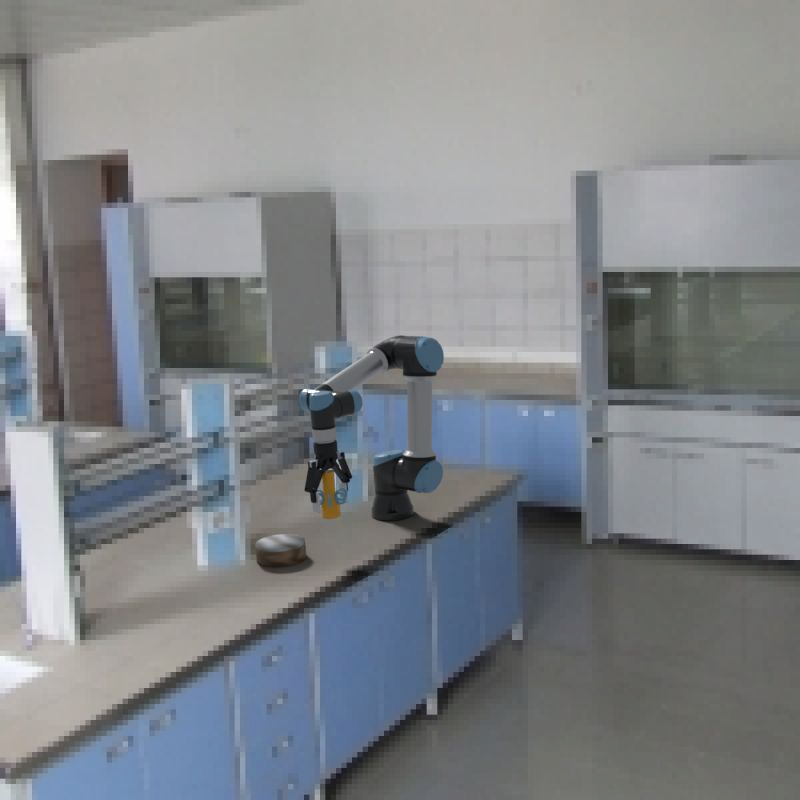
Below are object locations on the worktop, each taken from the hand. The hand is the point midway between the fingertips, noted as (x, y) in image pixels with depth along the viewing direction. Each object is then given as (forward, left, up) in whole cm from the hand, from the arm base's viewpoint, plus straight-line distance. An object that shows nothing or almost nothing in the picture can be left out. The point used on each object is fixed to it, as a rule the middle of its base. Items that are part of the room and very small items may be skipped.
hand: (330, 507), depth 345 cm
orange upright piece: (0, 0, -3) cm, 3 cm away
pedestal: (+11, -13, -16) cm, 24 cm away
